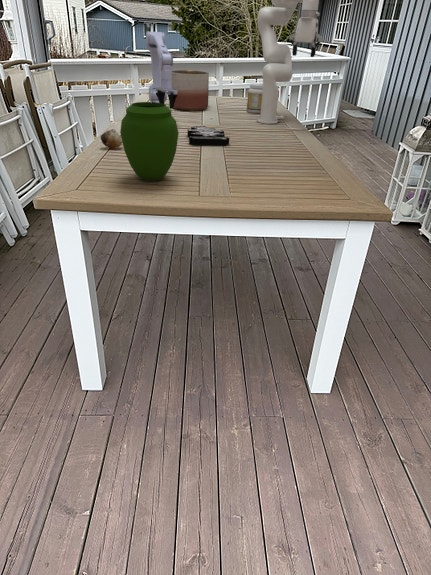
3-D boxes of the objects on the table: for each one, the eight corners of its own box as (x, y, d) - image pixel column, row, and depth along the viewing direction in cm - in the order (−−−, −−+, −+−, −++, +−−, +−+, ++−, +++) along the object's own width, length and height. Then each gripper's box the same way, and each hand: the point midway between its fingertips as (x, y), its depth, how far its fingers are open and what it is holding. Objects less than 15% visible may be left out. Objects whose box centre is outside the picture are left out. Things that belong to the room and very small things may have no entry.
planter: (201, 105, 293) (202, 70, 281) (212, 111, 273) (214, 74, 261) (167, 105, 285) (166, 69, 274) (175, 111, 265) (175, 73, 253)
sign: (189, 138, 189) (185, 125, 214) (189, 145, 190) (185, 131, 216) (230, 139, 191) (221, 126, 216) (230, 145, 193) (221, 132, 218)
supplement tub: (247, 109, 285) (249, 83, 276) (264, 111, 283) (267, 84, 274) (245, 112, 274) (248, 84, 265) (264, 114, 273) (266, 86, 264)
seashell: (124, 147, 182) (123, 128, 178) (122, 150, 177) (120, 130, 173) (103, 146, 182) (101, 127, 178) (100, 149, 177) (98, 129, 173)
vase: (131, 189, 135) (125, 110, 122) (118, 172, 150) (112, 100, 137) (186, 184, 142) (187, 109, 129) (169, 168, 157) (167, 99, 144)
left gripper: (181, 80, 214) (181, 108, 221) (162, 77, 222) (162, 104, 229) (171, 81, 210) (172, 109, 217) (152, 78, 217) (153, 106, 225)
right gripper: (328, 16, 194) (322, 57, 203) (295, 15, 202) (290, 54, 211) (322, 15, 189) (316, 57, 198) (289, 14, 197) (284, 55, 206)
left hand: (166, 107), depth 223 cm, fingers open, 7 cm apart
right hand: (303, 56), depth 205 cm, fingers open, 9 cm apart
